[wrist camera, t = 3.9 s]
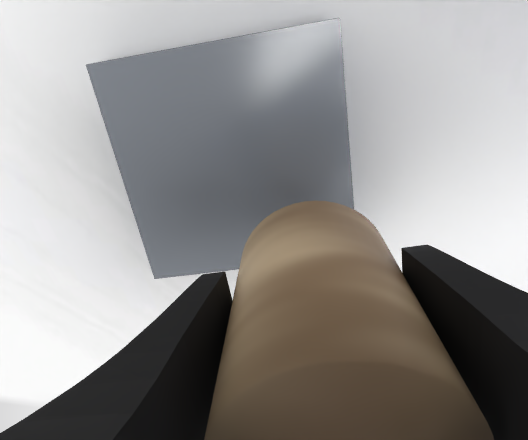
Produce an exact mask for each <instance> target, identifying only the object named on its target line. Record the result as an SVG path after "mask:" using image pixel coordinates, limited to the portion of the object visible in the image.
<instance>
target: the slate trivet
mask: <svg viewBox="0 0 528 440" xmlns="http://www.w3.org/2000/svg"><path fill="white" fill-rule="evenodd" d="M86 67H87V70H88V73H89V76H90V79H91V82H92V85H93V88H94V92H95V95H96V98H97V101H98V104H99V107H100V110H101V113H102V117H103V120H104V123H105V126H106V129H107V132H108V135H109V138H110V141H111V145H112V148H113V151H114V154H115V157H116V160H117V163H118V166H119V170H120V173H121V176H122V179H123V182H124V185H125V188H126V191H127V194H128V198H129V201H130V204H131V207H132V210H133V213H134V216H135V219H136V222H137V226H138V229H139V232H140V235H141V238H142V241H143V244H144V247H145V251H146V254H147V257H148V260H149V263H150V266H151V269H152V272H153V275H154V279H158V278H167V277H175V276H184V275H192V274H201V273H210V272H218V271H227V270H235V269H239V267H240V263H241V258H242V253H243V250H244V247H245V244H246V242H247V240H248V238H249V236H250V235H251V233H252V232H253V230H254V229H255V228H256V227H257V225H258V224H259V223H260V222H261V221H263V220H264V219H265V218H266V217H267V216H269V215H270V214H272V213H273V212H275V211H277V210H279V209H281V208H283V207H285V206H288V205H291V204H294V203H299V202H304V201H328V202H334V203H338V204H341V205H345V206H347V207H349V208H351V209H354V204H353V190H352V176H351V162H350V149H349V135H348V121H347V107H346V93H345V79H344V66H343V52H342V38H341V24H340V18H335V19H330V20H324V21H319V22H314V23H308V24H303V25H297V26H292V27H287V28H281V29H276V30H270V31H265V32H260V33H254V34H249V35H243V36H238V37H233V38H227V39H222V40H216V41H211V42H206V43H200V44H195V45H189V46H184V47H179V48H173V49H168V50H162V51H157V52H152V53H146V54H141V55H135V56H130V57H125V58H119V59H114V60H108V61H103V62H98V63H92V64H87V65H86Z"/></svg>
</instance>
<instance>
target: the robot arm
mask: <svg viewBox="0 0 528 440" xmlns="http://www.w3.org/2000/svg"><path fill="white" fill-rule="evenodd" d="M402 272H403V275H404V277H405V279H406V280H407V282H408V284H409V286H410V287H411V289H412V291H413V293H414V294H415V296H416V298H417V300H418V301H419V303H420V305H421V307H422V308H423V310H424V312H425V314H426V315H427V317H428V319H429V321H430V322H431V324H432V326H433V328H434V329H435V331H436V333H437V335H438V336H439V338H440V340H441V342H442V343H443V345H444V347H445V349H446V350H447V352H448V354H449V356H450V357H451V359H452V361H453V363H454V364H455V366H456V368H457V370H458V372H459V373H460V375H461V377H462V379H463V380H464V382H465V384H466V386H467V387H468V389H469V391H470V393H471V394H472V396H473V398H474V400H475V401H476V403H477V405H478V407H479V408H480V410H481V412H482V414H483V415H484V417H485V419H486V421H487V422H488V425H489V427H490V429H491V432H492V434H493V437H494V440H528V293H527V292H524V291H522V290H520V289H517V288H515V287H513V286H511V285H509V284H507V283H504V282H502V281H500V280H498V279H496V278H494V277H492V276H490V275H488V274H486V273H484V272H482V271H480V270H478V269H476V268H474V267H472V266H470V265H468V264H466V263H464V262H462V261H460V260H458V259H456V258H454V257H452V256H450V255H448V254H446V253H444V252H442V251H440V250H438V249H436V248H434V247H432V246H429V245H421V246H414V247H406V248H402ZM232 302H233V301H232V297H231V293H230V289H229V285H228V281H227V277H226V273H225V272H218V273H210V274H203V275H201V276H200V277H199V278H198V279H197V280H196V281H195V282H194V283H192V284H191V285H190V286H189V287H188V288H187V289H186V290H185V291H184V292H183V293H182V294H181V295H180V296H179V297H178V298H177V299H176V300H175V301H174V302H173V303H172V304H171V305H170V306H169V307H168V308H167V309H166V310H165V311H164V312H163V313H162V314H161V315H160V316H159V317H158V318H157V319H156V320H155V321H153V322H152V323H151V324H150V325H149V326H148V327H147V328H146V329H144V330H143V331H142V332H141V333H140V334H139V335H138V336H137V337H135V338H134V339H133V340H132V341H131V342H130V343H129V344H128V345H126V346H125V347H124V348H123V349H122V350H121V351H119V352H118V353H117V354H116V355H114V356H113V357H112V358H111V359H109V360H108V361H107V362H106V363H104V364H103V365H102V366H100V367H99V368H98V369H96V370H95V371H94V372H92V373H91V374H90V375H88V376H87V377H86V378H84V379H83V380H82V381H80V382H79V383H77V384H76V385H75V386H73V387H72V388H70V389H69V390H67V391H66V392H64V393H63V394H61V395H60V396H58V397H57V398H55V399H54V400H52V401H51V402H49V403H48V404H46V405H44V406H43V407H41V408H40V409H38V410H37V411H35V412H34V413H33V414H31V415H29V416H28V417H26V418H25V419H23V420H21V421H20V422H18V423H17V424H15V425H13V426H12V427H10V428H8V429H6V430H5V431H3V432H2V433H0V440H204V438H205V433H206V428H207V424H208V419H209V414H210V409H211V404H212V399H213V394H214V389H215V385H216V380H217V375H218V370H219V365H220V360H221V355H222V350H223V345H224V341H225V336H226V331H227V326H228V321H229V316H230V311H231V306H232Z"/></svg>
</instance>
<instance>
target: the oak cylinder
mask: <svg viewBox="0 0 528 440" xmlns="http://www.w3.org/2000/svg"><path fill="white" fill-rule="evenodd" d="M204 440H494V437H493V434H492V432H491V429H490V427H489V425H488V422H487V421H486V419H485V417H484V415H483V414H482V412H481V410H480V408H479V407H478V405H477V403H476V401H475V400H474V398H473V396H472V394H471V393H470V391H469V389H468V387H467V386H466V384H465V382H464V380H463V379H462V377H461V375H460V373H459V372H458V370H457V368H456V366H455V364H454V363H453V361H452V359H451V357H450V356H449V354H448V352H447V350H446V349H445V347H444V345H443V343H442V342H441V340H440V338H439V336H438V335H437V333H436V331H435V329H434V328H433V326H432V324H431V322H430V321H429V319H428V317H427V315H426V314H425V312H424V310H423V308H422V307H421V305H420V303H419V301H418V300H417V298H416V296H415V294H414V293H413V291H412V289H411V287H410V286H409V284H408V282H407V280H406V279H405V277H404V275H403V273H402V272H401V270H400V268H399V266H398V265H397V263H396V261H395V259H394V258H393V256H392V254H391V252H390V251H389V249H388V247H387V245H386V244H385V242H384V240H383V238H382V237H381V235H380V233H379V232H378V230H377V229H376V227H375V226H374V225H373V224H372V223H371V222H370V221H369V220H368V219H367V218H366V217H364V216H363V215H362V214H360V213H359V212H357V211H355V210H354V209H351V208H349V207H347V206H345V205H341V204H338V203H334V202H328V201H304V202H299V203H294V204H291V205H288V206H285V207H283V208H281V209H279V210H277V211H275V212H273V213H272V214H270V215H269V216H267V217H266V218H265V219H264V220H263V221H261V222H260V223H259V224H258V225H257V227H256V228H255V229H254V230H253V232H252V233H251V235H250V236H249V238H248V240H247V242H246V244H245V247H244V250H243V253H242V258H241V263H240V267H239V272H238V277H237V282H236V287H235V292H234V297H233V302H232V306H231V311H230V316H229V321H228V326H227V331H226V336H225V341H224V345H223V350H222V355H221V360H220V365H219V370H218V375H217V380H216V385H215V389H214V394H213V399H212V404H211V409H210V414H209V419H208V424H207V428H206V433H205V438H204Z"/></svg>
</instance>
